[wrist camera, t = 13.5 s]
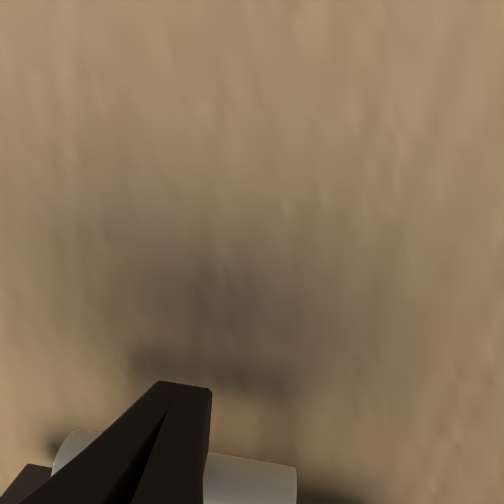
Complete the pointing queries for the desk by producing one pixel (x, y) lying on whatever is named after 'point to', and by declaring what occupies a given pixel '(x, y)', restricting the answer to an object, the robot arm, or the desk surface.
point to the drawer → (214, 479)
